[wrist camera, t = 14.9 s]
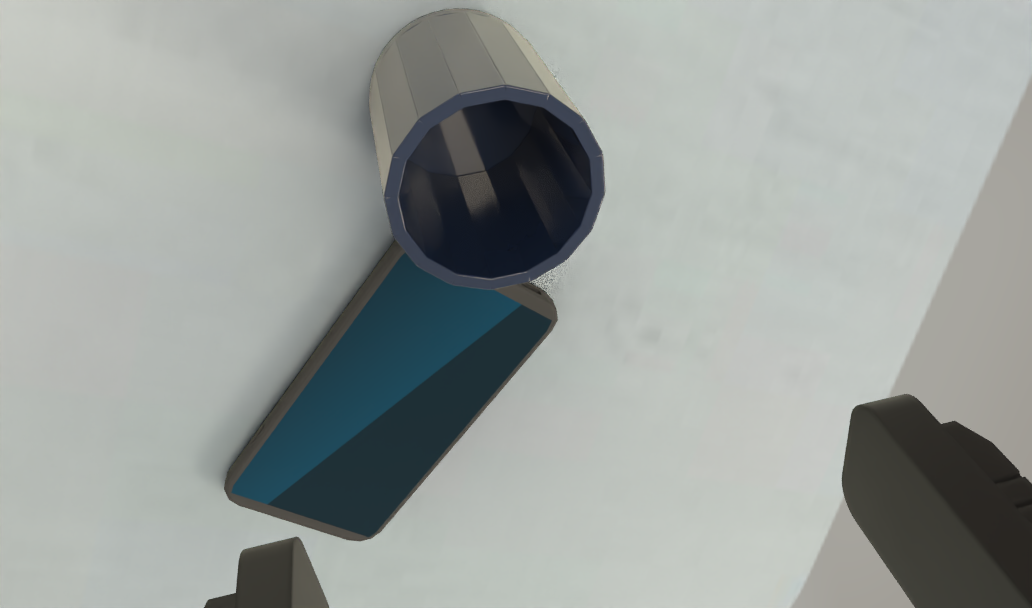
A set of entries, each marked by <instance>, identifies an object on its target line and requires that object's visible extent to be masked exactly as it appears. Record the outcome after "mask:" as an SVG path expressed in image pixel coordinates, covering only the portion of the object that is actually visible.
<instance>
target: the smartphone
mask: <svg viewBox="0 0 1032 608" xmlns="http://www.w3.org/2000/svg"><path fill="white" fill-rule="evenodd" d="M557 321H558V319H557V311H556V307H555V305H554V303H553V300H552V299H551V298H550V297H549V296H548V295H547V294H546V293H545V292H544V291H543V290H542V289H540V288H538V287H536V286H535V285H533V284H531V283H529V282H526V283H522V284H517V285H512V286H508V287H503V288H498V289H493V290H491V289H490V290H487V289H479V288H471V287H463V286H455V285H452V284H449V283H447V282H445V281H443V280H441V279H439V278H437V277H436V276H434V275H432V274H430V273H428V272H426V271H424V270H423V269H421V268H419V267H418V266H416V265H415V264H414V262H413V261H412V260H411V259H410V257H409V256H408V255H407V254H406V252H405V251H404V250H403V248H402V247H401V246H400V245H399V243H398V242H397V241H396V240H395V241H394V242H393V244H392V245H391V246H390V248H389V249H388V251H387V252H386V253H385V255H384V256H383V258H382V259H381V260H380V262H379V263H378V264H377V266H376V267H375V269H374V270H373V271H372V273H371V274H370V276H369V277H368V278H367V280H366V281H365V282H364V284H363V285H362V287H361V288H360V289H359V291H358V292H357V294H356V295H355V296H354V298H353V299H352V300H351V302H350V303H349V305H348V306H347V307H346V309H345V310H344V312H343V313H342V314H341V316H340V317H339V318H338V320H337V321H336V323H335V324H334V325H333V327H332V328H331V330H330V331H329V332H328V334H327V335H326V336H325V338H324V339H323V341H322V342H321V343H320V345H319V346H318V348H317V349H316V350H315V352H314V353H313V354H312V356H311V357H310V359H309V360H308V361H307V363H306V364H305V366H304V367H303V368H302V370H301V371H300V372H299V374H298V375H297V377H296V378H295V379H294V381H293V382H292V384H291V385H290V386H289V388H288V389H287V390H286V392H285V393H284V395H283V396H282V397H281V399H280V400H279V402H278V403H277V404H276V406H275V407H274V408H273V410H272V411H271V413H270V414H269V415H268V417H267V418H266V420H265V421H264V422H263V424H262V425H261V426H260V428H259V429H258V431H257V432H256V433H255V435H254V436H253V438H252V439H251V440H250V442H249V443H248V444H247V446H246V447H245V449H244V450H243V451H242V453H241V454H240V456H239V457H238V458H237V460H236V461H235V462H234V464H233V465H232V467H231V468H230V469H229V471H228V473H227V477H226V480H225V486H224V490H225V492H226V494H227V496H228V498H229V500H231V501H232V502H234V503H236V504H237V505H239V506H242V507H245V508H248V509H252V510H255V511H258V512H261V513H264V514H267V515H271V516H274V517H277V518H280V519H283V520H286V521H290V522H293V523H296V524H299V525H302V526H305V527H308V528H312V529H315V530H318V531H321V532H324V533H327V534H331V535H334V536H337V537H340V538H343V539H346V540H353V541H363V540H367V539H371V538H373V537H374V536H375V535H377V534H378V533H380V532H381V531H382V529H383V528H384V527H385V526H386V525H387V524H388V522H389V521H390V520H391V519H392V518H393V517H394V515H395V514H396V513H397V512H398V511H399V509H400V508H401V507H402V506H403V505H404V504H405V502H406V501H407V500H408V499H409V498H410V497H411V495H412V494H413V493H414V492H415V491H416V490H417V488H418V487H419V486H420V485H421V484H422V482H423V481H424V480H425V479H426V478H427V477H428V475H429V474H430V473H431V472H432V471H433V470H434V468H435V467H436V466H437V465H438V464H439V463H440V461H441V460H442V459H443V458H444V457H445V455H446V454H447V453H448V452H449V451H450V450H451V448H452V447H453V446H454V445H455V444H456V443H457V441H458V440H459V439H460V438H461V437H462V435H463V434H464V433H465V432H466V431H467V430H468V428H469V427H470V426H471V425H472V424H473V423H474V421H475V420H476V419H477V418H478V417H479V416H480V414H481V413H482V412H483V411H484V410H485V408H486V407H487V406H488V405H489V404H490V403H491V401H492V400H493V399H494V398H495V397H496V396H497V394H498V393H499V392H500V391H501V390H502V389H503V387H504V386H505V385H506V384H507V383H508V381H509V380H510V379H511V378H512V377H513V376H514V374H515V373H516V372H517V371H518V370H519V369H520V367H521V366H522V365H523V364H524V363H525V362H526V360H527V359H528V358H529V357H530V356H531V354H532V353H533V352H534V351H535V350H536V349H537V347H538V346H539V345H540V344H541V343H542V342H543V340H544V339H545V338H546V337H547V336H548V335H549V333H550V332H551V331H552V329H553V327H554V326H555V324H556V322H557Z"/></svg>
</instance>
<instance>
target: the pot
mask: <svg viewBox="0 0 1032 608" xmlns="http://www.w3.org/2000/svg"><path fill="white" fill-rule="evenodd" d="M369 110H370V116H371V123H372V129H373V135H374V141H375V147H376V154H377V160H378V166H379V172H380V179H381V185H382V191H383V197H384V202H385V206H386V210H387V215H388V219H389V223H390V228H391V232H392V235H393V237H394V238H395V240H396V241H397V242H398V243H399V245H400V246H401V247H402V248H403V250H404V251H405V252H406V254H407V255H408V256H409V257H410V259H411V260H412V261H413V262H414V264H415V265H416V266H418V267H419V268H421V269H423V270H424V271H426V272H428V273H430V274H432V275H434V276H436V277H437V278H439V279H441V280H443V281H445V282H447V283H449V284H452V285H455V286H463V287H471V288H479V289H487V290H490V289H491V290H493V289H498V288H503V287H508V286H512V285H517V284H522V283H526V282H530V281H533V280H534V279H536V278H538V277H539V276H541V275H543V274H544V273H546V272H548V271H550V270H551V269H553V268H555V267H556V266H558V265H560V264H561V263H563V262H565V260H567V259H568V258H569V257H570V255H571V254H572V253H573V252H574V251H575V250H576V248H577V247H578V246H579V245H580V244H581V242H582V241H583V240H584V239H585V238H586V237H587V235H588V234H589V233H590V232H591V230H592V229H593V226H594V223H595V220H596V218H597V215H598V212H599V209H600V206H601V204H602V201H603V198H604V195H605V177H604V160H603V154H602V150H601V148H600V147H599V145H598V143H597V141H596V139H595V137H594V136H593V134H592V132H591V130H590V128H589V126H588V125H587V123H586V121H585V119H584V118H583V116H582V115H581V114H580V112H579V111H578V109H577V108H576V107H575V105H574V104H573V102H572V101H571V100H570V98H569V97H568V95H567V94H566V93H565V91H564V90H563V89H562V87H561V86H560V84H559V83H558V82H557V80H556V79H555V77H554V76H553V75H552V73H551V72H550V70H549V69H548V68H547V66H546V65H545V63H544V62H543V61H542V59H541V58H540V56H539V55H538V54H537V52H536V51H535V49H534V48H533V47H532V45H531V44H530V43H529V42H528V40H527V39H525V38H524V37H523V36H522V35H521V34H520V33H519V32H518V31H517V30H516V29H515V28H513V27H512V26H511V25H510V24H508V23H506V22H505V21H503V20H502V19H500V18H498V17H496V16H493V15H491V14H488V13H485V12H482V11H478V10H472V9H447V10H441V11H437V12H433V13H430V14H428V15H425V16H422V17H420V18H418V19H417V20H415V21H413V22H411V23H410V24H408V25H407V26H406V27H404V28H403V29H402V30H400V31H399V32H398V33H397V34H396V35H395V36H394V37H393V38H392V39H391V40H390V42H389V43H388V44H387V45H386V47H385V48H384V50H383V51H382V53H381V55H380V56H379V58H378V60H377V63H376V65H375V68H374V70H373V74H372V78H371V83H370V91H369Z"/></svg>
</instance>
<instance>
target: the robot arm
mask: <svg viewBox="0 0 1032 608" xmlns="http://www.w3.org/2000/svg"><path fill="white" fill-rule="evenodd" d="M842 487H843V492H844V496H845V500H846V503H847V505H848V508H849V510H850V512H851V514H852V516H853V517H854V519H855V521H856V522H857V524H858V525H859V527H860V528H861V530H862V531H863V532H864V534H865V535H866V537H867V538H868V540H869V541H870V543H871V544H872V545H873V547H874V548H875V550H876V551H877V553H878V554H879V556H880V557H881V559H882V560H883V562H884V563H885V564H886V566H887V567H888V569H889V570H890V572H891V573H892V575H893V576H894V578H895V579H896V580H897V582H898V583H899V585H900V586H901V588H902V589H903V591H904V592H905V594H906V595H907V596H908V598H909V599H910V601H911V602H912V604H913V605H914V607H915V608H1032V484H1031V483H1030V482H1029V481H1028V480H1027V479H1026V477H1021V476H1020V474H1019V470H1018V469H1017V468H1016V467H1015V466H1014V465H1013V464H1012V463H1011V462H1010V461H1009V460H1008V459H1007V458H1006V457H1005V456H1004V455H1003V453H1002V452H1001V451H1000V450H999V449H998V448H997V447H996V446H995V445H994V444H993V443H992V442H990V441H989V440H987V439H985V438H983V437H982V436H980V435H978V434H977V433H975V432H973V431H971V430H970V429H968V428H966V427H964V426H963V425H961V424H959V423H958V422H956V421H952V422H948V423H944V424H940V423H939V422H938V421H937V420H936V419H935V417H934V416H933V415H932V414H931V413H930V412H929V411H928V410H927V408H926V407H925V406H924V405H923V404H922V403H921V402H920V401H919V400H918V399H917V398H915V397H914V396H912V395H909V394H904V395H899V396H895V397H891V398H886V399H882V400H878V401H874V402H870V403H865V404H861V405H858V406H856V407H855V408H854V409H853V411H852V414H851V419H850V426H849V433H848V439H847V446H846V452H845V459H844V466H843V472H842ZM204 608H329V606H328V602H327V600H326V597H325V595H324V593H323V590H322V588H321V586H320V583H319V581H318V578H317V576H316V574H315V571H314V569H313V567H312V564H311V562H310V559H309V557H308V555H307V552H306V550H305V548H304V545H303V543H302V541H301V540H300V538H299V537H294V538H290V539H286V540H281V541H277V542H273V543H269V544H265V545H260V546H256V547H252V548H248V549H244V550H243V551H242V552H241V554H240V558H239V565H238V576H237V587H236V593H234V594H230V595H226V596H222V597H218V598H213V599H209V600H208V601H207V603H206V605H205V607H204Z"/></svg>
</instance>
